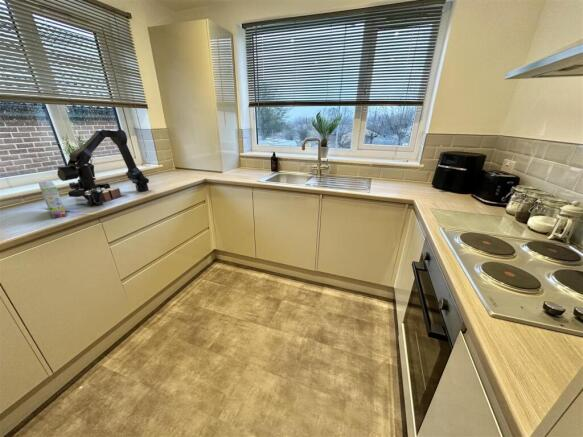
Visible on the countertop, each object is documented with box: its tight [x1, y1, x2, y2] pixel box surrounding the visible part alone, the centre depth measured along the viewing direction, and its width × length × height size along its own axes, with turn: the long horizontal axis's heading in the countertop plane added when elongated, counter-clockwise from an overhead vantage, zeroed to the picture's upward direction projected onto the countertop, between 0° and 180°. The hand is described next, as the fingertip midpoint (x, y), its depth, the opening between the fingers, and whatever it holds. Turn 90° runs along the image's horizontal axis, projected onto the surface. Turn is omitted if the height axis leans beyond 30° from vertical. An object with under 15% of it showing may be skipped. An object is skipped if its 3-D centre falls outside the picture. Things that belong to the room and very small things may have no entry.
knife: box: [74, 197, 104, 207], centre depth 132 cm, size 17×2×4 cm, turn 78°
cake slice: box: [90, 190, 111, 200], centre depth 141 cm, size 12×4×5 cm, turn 78°
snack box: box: [38, 180, 67, 219], centre depth 121 cm, size 21×6×15 cm, turn 48°
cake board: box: [94, 194, 128, 204], centre depth 144 cm, size 20×16×1 cm
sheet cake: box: [101, 186, 122, 198], centre depth 147 cm, size 12×6×5 cm, turn 78°
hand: (95, 204), depth 132 cm, fingers closed on knife, 2 cm apart
